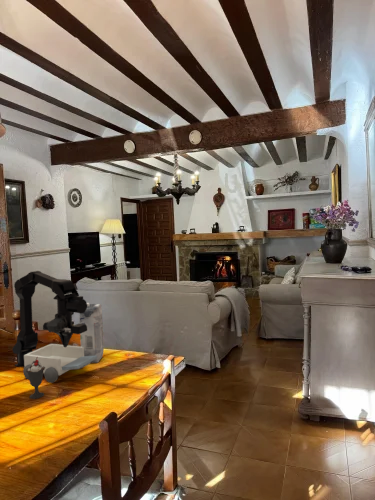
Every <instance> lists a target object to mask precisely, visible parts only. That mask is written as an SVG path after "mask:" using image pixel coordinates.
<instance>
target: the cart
mask: <svg viewBox="0 0 375 500" xmlns="http://www.w3.org/2000/svg"><path fill="white" fill-rule="evenodd" d="M32 351H33V352H30V353H28V354H25V355H24V367H23V376H24V377H25V378H26V379H27V380H29V375H28V373H27V372H26V369H27V368H29V367H30V366H31V364H32V363H33V361H35V360H36V359H37V360H38V361H39V362H40V363H41V365H43V366H44V367H45V369H44V370H43V376H44V379H45V380H46V382H48V383H49V384H53V383H55V382H57V381H58V379H59V376H61V375H63V374H65V373H67V372H68V371H69V370H62V367H63V366H65V365H67V364H68V363H70V362H72V361H74V360H76V359H78V358H80V357H83V356H84V347H81V346H79V345H78V346H77V345H69V344H68V345H67V347H64V346H63V344H58V343H49V344H47V345H45V346H41V347H40V348H38V349H37V348H36V349H34V350H32ZM37 357H38V358H37Z"/></svg>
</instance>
